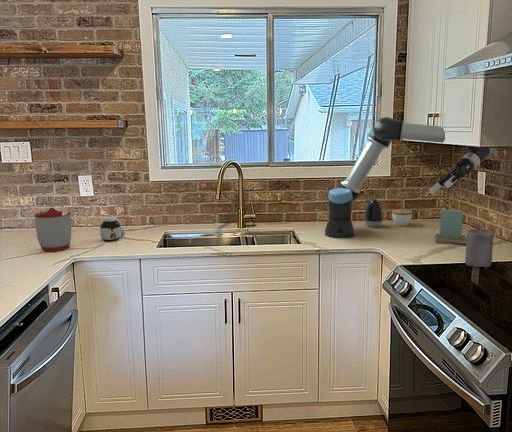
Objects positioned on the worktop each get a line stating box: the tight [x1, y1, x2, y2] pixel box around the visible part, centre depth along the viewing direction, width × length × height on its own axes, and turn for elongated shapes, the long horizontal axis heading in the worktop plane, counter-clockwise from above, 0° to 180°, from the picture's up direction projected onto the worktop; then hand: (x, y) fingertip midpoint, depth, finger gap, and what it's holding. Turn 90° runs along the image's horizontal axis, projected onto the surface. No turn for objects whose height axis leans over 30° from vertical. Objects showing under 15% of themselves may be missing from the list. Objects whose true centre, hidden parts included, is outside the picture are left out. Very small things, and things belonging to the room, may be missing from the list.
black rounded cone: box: [363, 198, 384, 228], centre depth 264 cm, size 10×10×15 cm
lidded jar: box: [391, 208, 413, 227], centre depth 267 cm, size 11×11×9 cm
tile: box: [439, 209, 464, 237], centre depth 236 cm, size 2×10×13 cm, turn 70°
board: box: [434, 233, 467, 246], centre depth 232 cm, size 18×14×1 cm
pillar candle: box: [464, 228, 495, 269], centre depth 190 cm, size 10×10×15 cm
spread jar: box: [99, 215, 127, 243], centre depth 242 cm, size 12×11×12 cm
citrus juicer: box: [33, 207, 73, 253], centre depth 223 cm, size 16×17×20 cm
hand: (437, 189), depth 225 cm, fingers open, 13 cm apart
